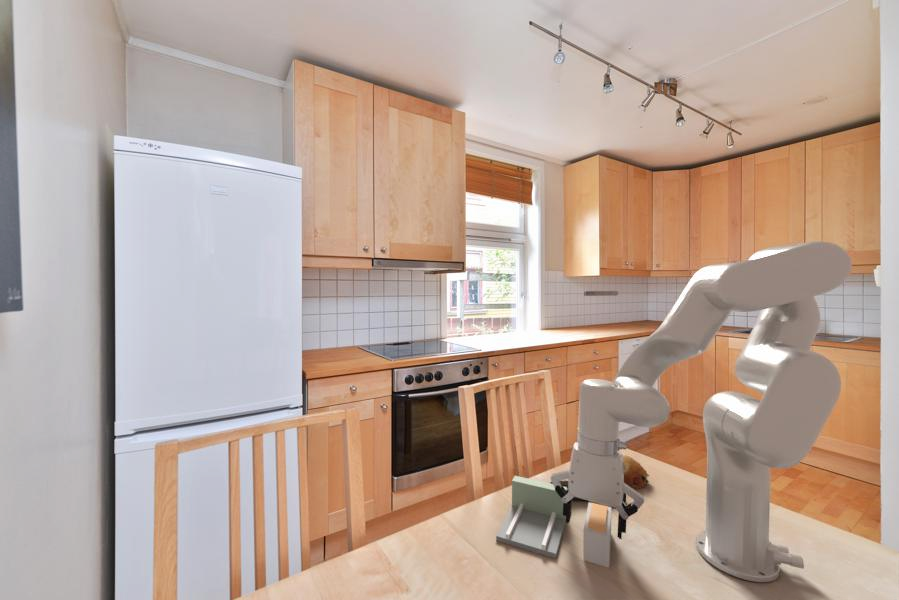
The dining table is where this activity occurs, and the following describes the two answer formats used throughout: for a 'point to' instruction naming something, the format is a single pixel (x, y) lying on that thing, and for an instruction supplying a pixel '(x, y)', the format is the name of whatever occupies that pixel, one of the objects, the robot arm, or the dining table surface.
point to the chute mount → (534, 517)
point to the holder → (597, 534)
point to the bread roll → (634, 473)
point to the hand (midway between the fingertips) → (593, 526)
